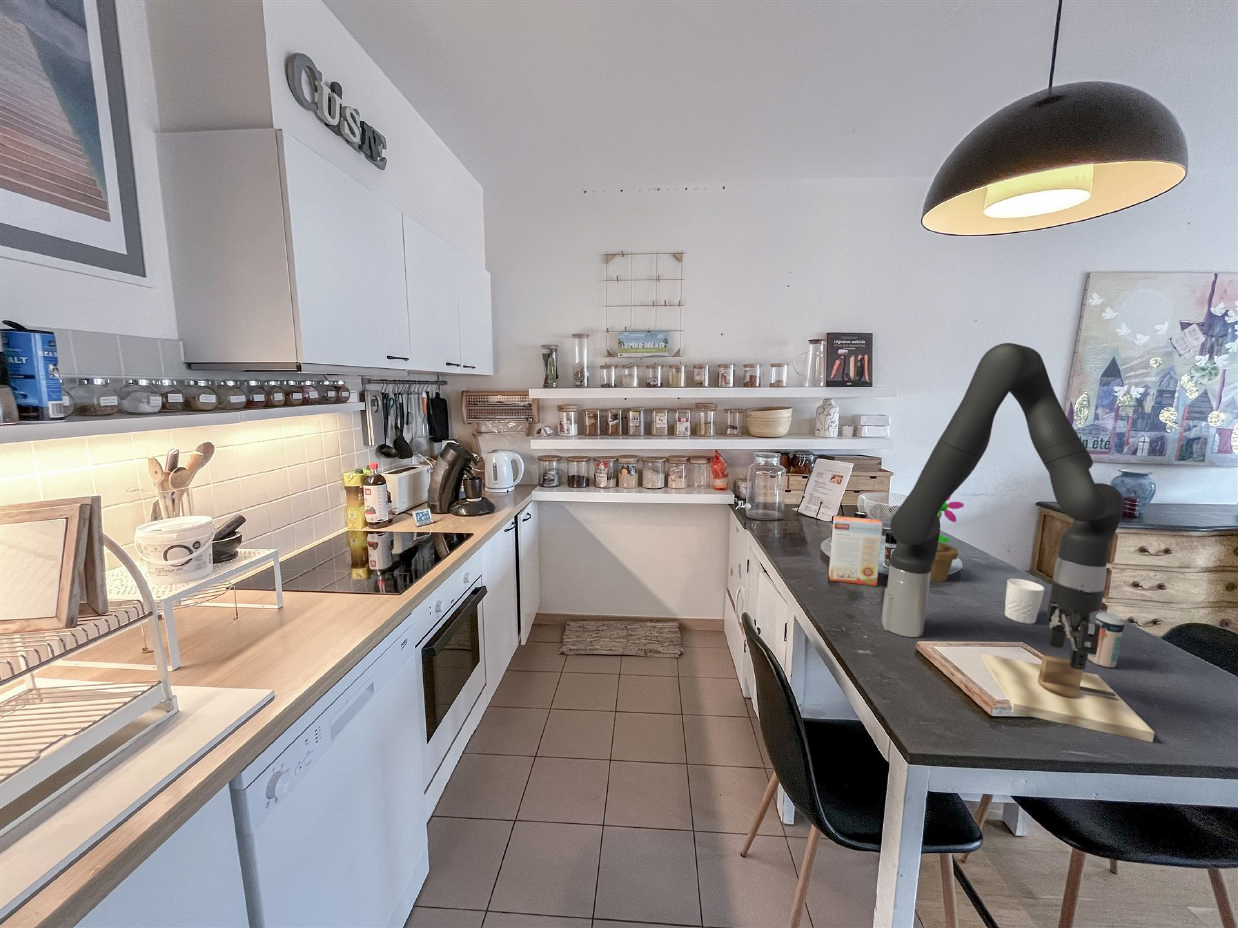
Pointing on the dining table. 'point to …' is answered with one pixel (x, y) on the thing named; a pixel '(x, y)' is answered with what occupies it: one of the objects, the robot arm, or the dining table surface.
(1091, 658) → the beer can
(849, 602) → the dining table surface
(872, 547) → the cracker box
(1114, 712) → the dial board
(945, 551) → the flowerpot
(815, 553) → the dining table surface
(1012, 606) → the white cup
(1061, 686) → the tuning knob
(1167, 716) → the dining table surface
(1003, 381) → the robot arm
